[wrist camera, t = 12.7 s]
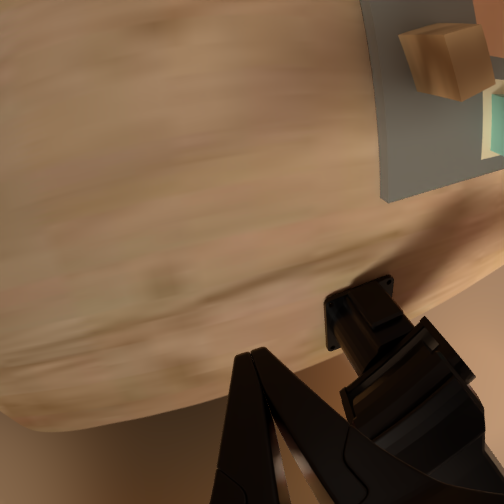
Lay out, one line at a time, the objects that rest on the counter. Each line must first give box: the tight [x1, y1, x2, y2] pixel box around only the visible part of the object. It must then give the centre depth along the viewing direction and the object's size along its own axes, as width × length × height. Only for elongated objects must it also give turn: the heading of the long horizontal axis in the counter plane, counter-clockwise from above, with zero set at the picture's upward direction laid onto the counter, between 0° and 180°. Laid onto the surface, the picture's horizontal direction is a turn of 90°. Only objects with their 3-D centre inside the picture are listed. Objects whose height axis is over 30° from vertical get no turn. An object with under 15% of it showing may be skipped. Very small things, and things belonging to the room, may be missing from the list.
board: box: [360, 0, 504, 203], centre depth 17 cm, size 19×18×1 cm
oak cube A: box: [398, 23, 496, 102], centre depth 14 cm, size 4×4×4 cm
